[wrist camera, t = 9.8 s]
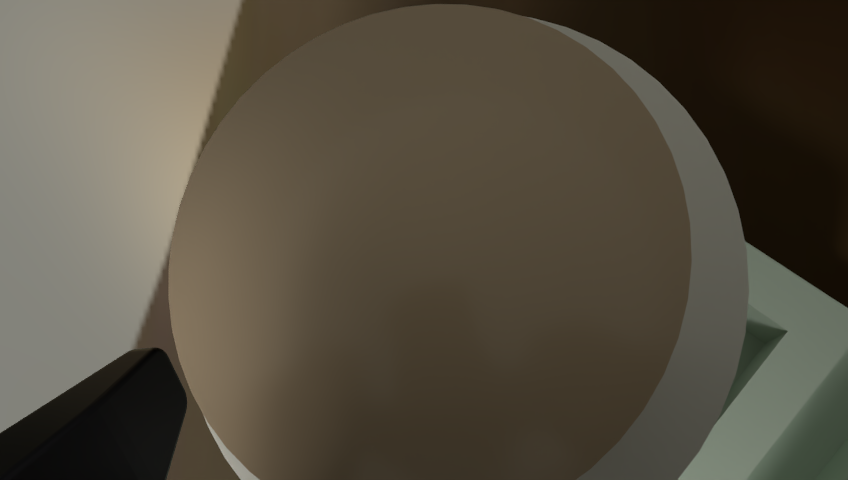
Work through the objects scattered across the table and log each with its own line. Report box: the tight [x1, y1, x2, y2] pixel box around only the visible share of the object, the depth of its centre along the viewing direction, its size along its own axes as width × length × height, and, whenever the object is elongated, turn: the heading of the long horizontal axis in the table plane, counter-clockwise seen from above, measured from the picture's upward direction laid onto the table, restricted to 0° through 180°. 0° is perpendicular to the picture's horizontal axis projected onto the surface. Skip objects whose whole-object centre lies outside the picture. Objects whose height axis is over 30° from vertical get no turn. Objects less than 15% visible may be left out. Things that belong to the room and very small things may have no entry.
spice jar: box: [169, 4, 749, 480], centre depth 12 cm, size 5×5×13 cm
